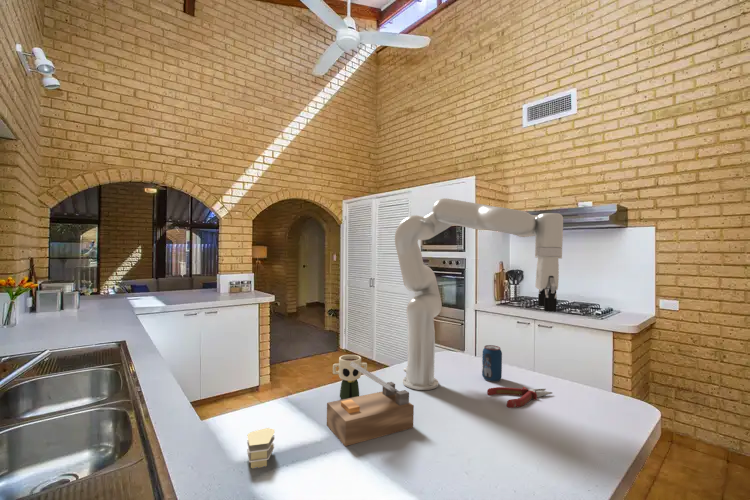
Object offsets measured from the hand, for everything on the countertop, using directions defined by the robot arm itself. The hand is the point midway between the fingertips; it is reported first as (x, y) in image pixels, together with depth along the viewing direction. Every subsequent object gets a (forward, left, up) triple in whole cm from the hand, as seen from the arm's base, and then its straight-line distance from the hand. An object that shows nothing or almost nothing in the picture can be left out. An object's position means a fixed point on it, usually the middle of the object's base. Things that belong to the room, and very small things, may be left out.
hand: (546, 308), depth 112 cm
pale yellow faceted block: (-12, -83, -31) cm, 89 cm away
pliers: (-7, -1, -31) cm, 32 cm away
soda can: (-25, +4, -31) cm, 40 cm away
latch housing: (-14, -54, -30) cm, 64 cm away
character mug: (-33, -51, -31) cm, 68 cm away
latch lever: (-14, -53, -18) cm, 57 cm away
